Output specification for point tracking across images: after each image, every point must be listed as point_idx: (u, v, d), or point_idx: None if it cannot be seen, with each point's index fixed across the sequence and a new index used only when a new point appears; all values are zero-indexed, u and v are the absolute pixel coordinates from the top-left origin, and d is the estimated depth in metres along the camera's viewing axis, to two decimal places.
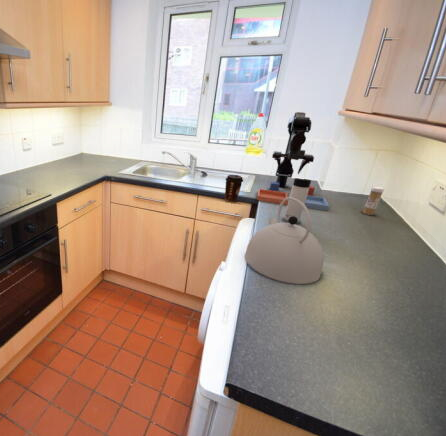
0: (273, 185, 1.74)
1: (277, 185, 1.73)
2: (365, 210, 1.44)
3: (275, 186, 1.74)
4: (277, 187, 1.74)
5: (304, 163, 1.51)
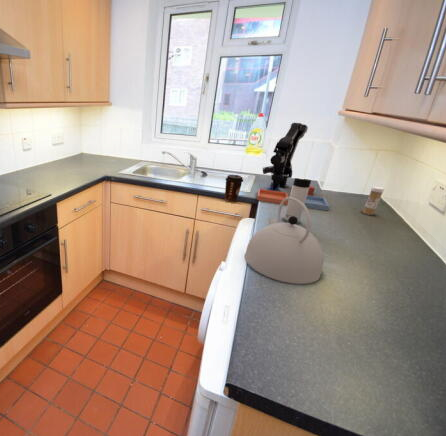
0: None
1: None
2: (365, 210, 1.44)
3: None
4: (277, 187, 1.74)
5: (272, 179, 1.72)
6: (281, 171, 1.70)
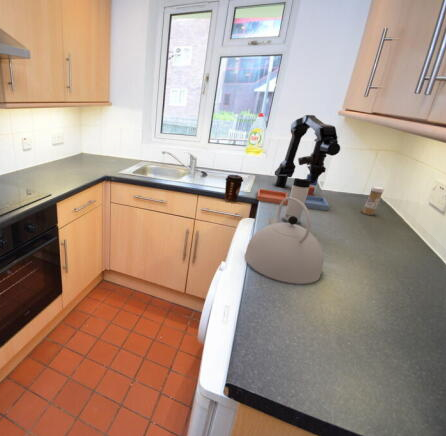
0: None
1: None
2: (365, 210, 1.44)
3: None
4: (315, 180, 1.51)
5: (310, 171, 1.49)
6: (321, 161, 1.47)
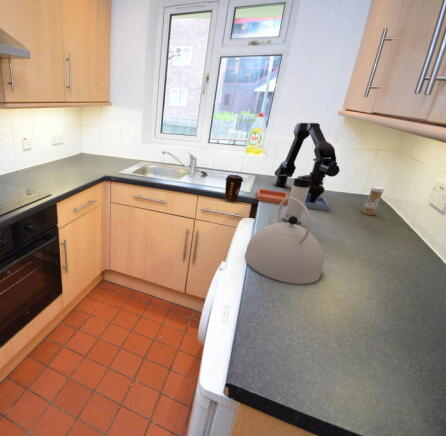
0: (309, 197, 1.53)
1: None
2: (365, 210, 1.44)
3: None
4: None
5: (309, 191, 1.49)
6: (320, 181, 1.49)
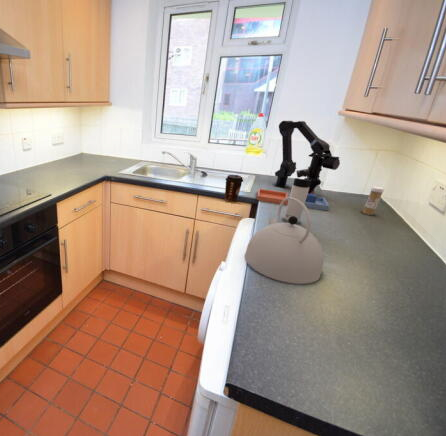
0: (309, 197, 1.53)
1: (314, 197, 1.52)
2: (365, 210, 1.44)
3: (312, 198, 1.53)
4: (314, 200, 1.53)
5: None
6: (317, 174, 1.65)
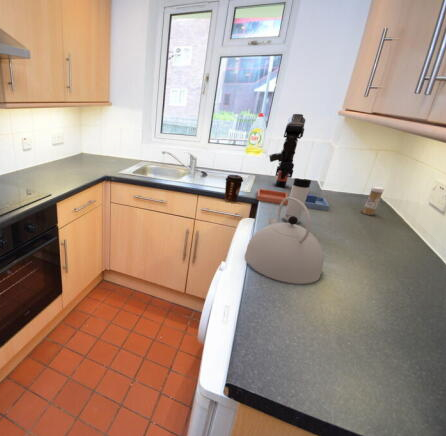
0: (309, 197, 1.53)
1: (314, 197, 1.52)
2: (365, 210, 1.44)
3: (312, 198, 1.53)
4: (314, 200, 1.53)
5: (280, 167, 1.54)
6: (290, 158, 1.52)
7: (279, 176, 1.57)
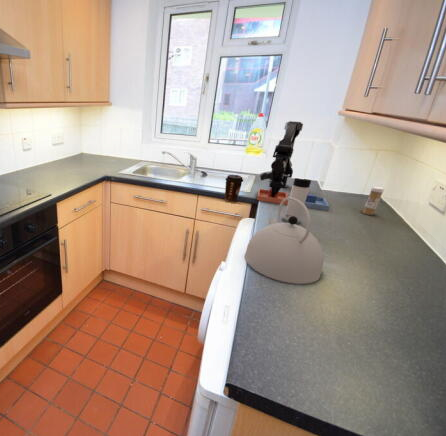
0: (309, 197, 1.53)
1: (314, 197, 1.52)
2: (365, 210, 1.44)
3: (312, 198, 1.53)
4: (314, 200, 1.53)
5: (270, 186, 1.57)
6: (280, 177, 1.55)
7: (269, 194, 1.60)
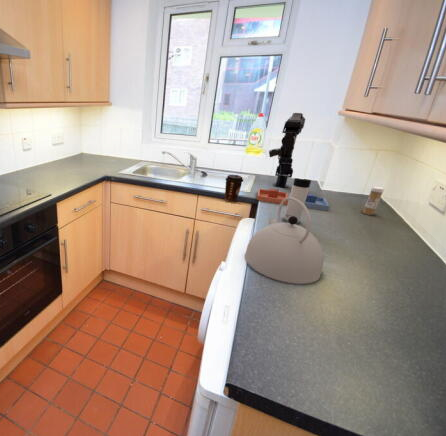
0: (309, 197, 1.53)
1: (314, 197, 1.52)
2: (365, 210, 1.44)
3: (312, 198, 1.53)
4: (314, 200, 1.53)
5: (279, 163, 1.56)
6: (289, 153, 1.56)
7: (269, 194, 1.60)
